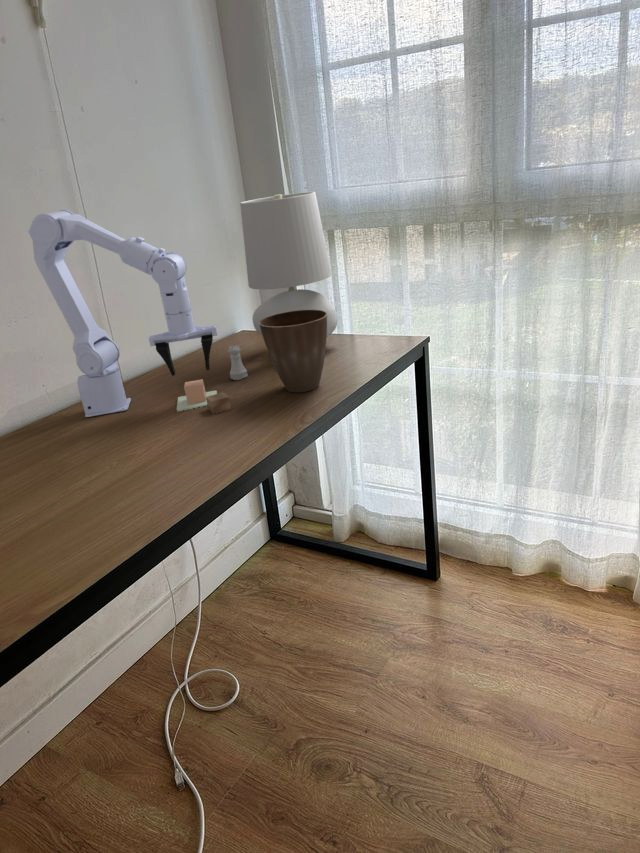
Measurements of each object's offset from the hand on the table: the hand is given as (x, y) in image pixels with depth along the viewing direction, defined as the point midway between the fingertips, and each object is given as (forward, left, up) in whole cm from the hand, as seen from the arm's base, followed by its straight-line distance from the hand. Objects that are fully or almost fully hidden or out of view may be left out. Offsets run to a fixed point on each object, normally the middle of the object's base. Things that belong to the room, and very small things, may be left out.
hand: (190, 371), depth 149 cm
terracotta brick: (0, 0, -7) cm, 7 cm away
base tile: (0, 0, -8) cm, 8 cm away
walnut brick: (+5, -8, -7) cm, 12 cm away
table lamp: (+27, +28, -7) cm, 39 cm away
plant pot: (+24, -3, -7) cm, 25 cm away
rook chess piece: (+10, +13, -7) cm, 18 cm away
